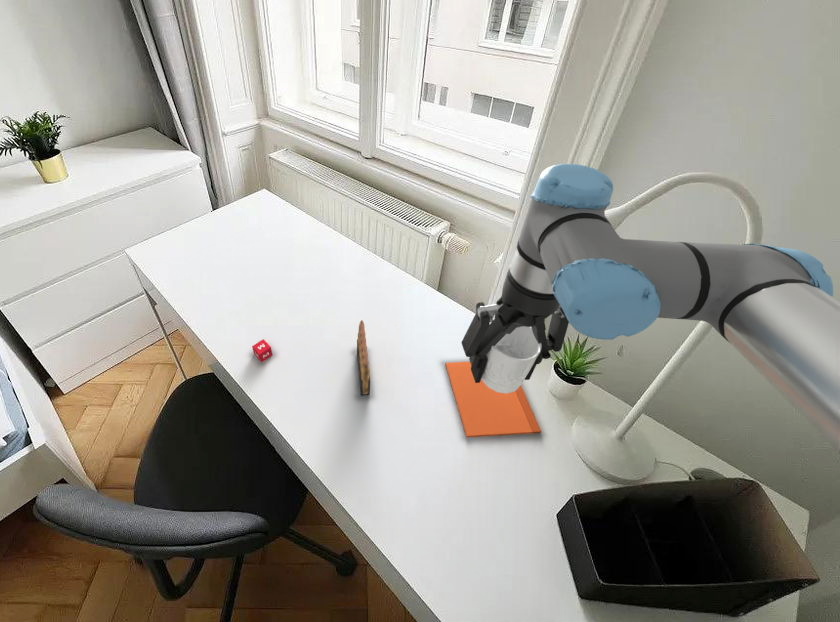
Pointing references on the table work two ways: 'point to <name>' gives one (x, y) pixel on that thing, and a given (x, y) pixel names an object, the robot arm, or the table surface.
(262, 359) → the dice
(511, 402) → the folder
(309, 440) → the table surface
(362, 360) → the ammunition clip
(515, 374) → the white cup
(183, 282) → the table surface
